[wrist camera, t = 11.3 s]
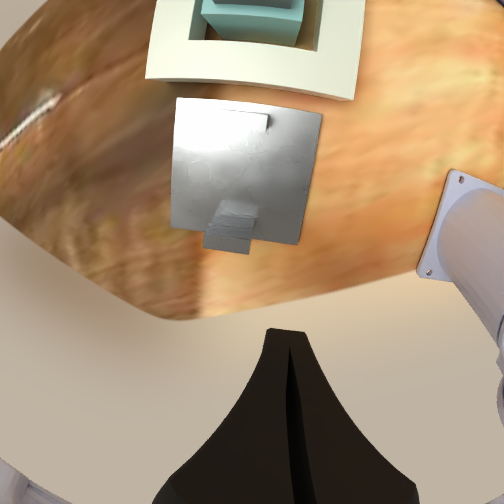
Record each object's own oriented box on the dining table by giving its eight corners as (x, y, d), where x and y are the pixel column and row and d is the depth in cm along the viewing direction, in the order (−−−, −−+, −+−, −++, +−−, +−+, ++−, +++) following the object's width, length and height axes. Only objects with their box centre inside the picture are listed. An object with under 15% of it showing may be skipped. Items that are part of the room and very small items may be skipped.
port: (355, -38, 10) (367, -58, 7) (340, 101, 14) (353, 100, 12) (190, -52, 10) (176, -73, 7) (166, 81, 14) (145, 78, 12)
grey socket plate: (320, 114, 15) (331, 115, 12) (296, 241, 19) (300, 270, 15) (180, 98, 15) (156, 97, 12) (173, 223, 19) (153, 248, 16)
